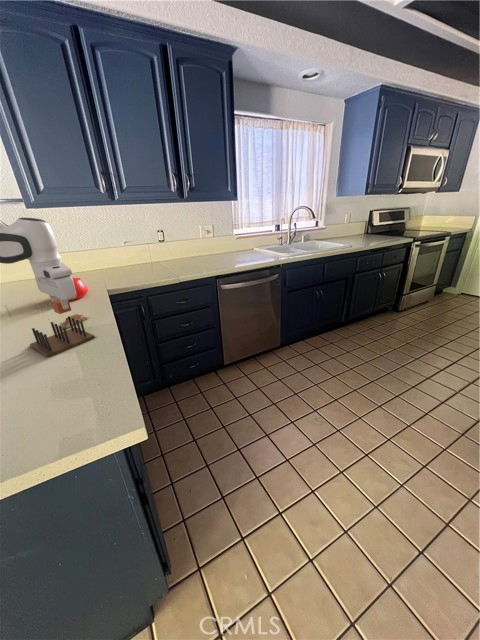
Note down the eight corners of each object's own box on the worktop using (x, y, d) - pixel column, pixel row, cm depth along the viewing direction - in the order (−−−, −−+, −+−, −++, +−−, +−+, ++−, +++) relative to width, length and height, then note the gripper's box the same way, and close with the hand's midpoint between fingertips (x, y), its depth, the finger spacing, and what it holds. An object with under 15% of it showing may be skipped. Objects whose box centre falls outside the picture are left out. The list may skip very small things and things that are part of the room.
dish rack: (48, 357, 88) (41, 338, 85) (30, 346, 95) (23, 329, 92) (94, 337, 100) (89, 321, 97) (75, 329, 107) (70, 313, 104)
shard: (66, 329, 107) (64, 325, 106) (52, 327, 110) (51, 323, 109) (88, 319, 116) (87, 315, 116) (75, 317, 119) (73, 313, 118)
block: (60, 314, 93) (56, 303, 91) (54, 312, 95) (50, 301, 93) (71, 310, 96) (68, 300, 94) (66, 308, 98) (62, 298, 96)
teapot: (59, 293, 151) (52, 272, 146) (89, 289, 157) (84, 269, 152) (53, 307, 131) (45, 283, 126) (88, 302, 137) (82, 279, 132)
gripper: (25, 267, 92) (38, 304, 97) (52, 274, 81) (66, 315, 87) (45, 264, 96) (57, 299, 102) (73, 270, 86) (85, 309, 92)
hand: (61, 307), depth 94 cm, fingers closed on block, 4 cm apart
